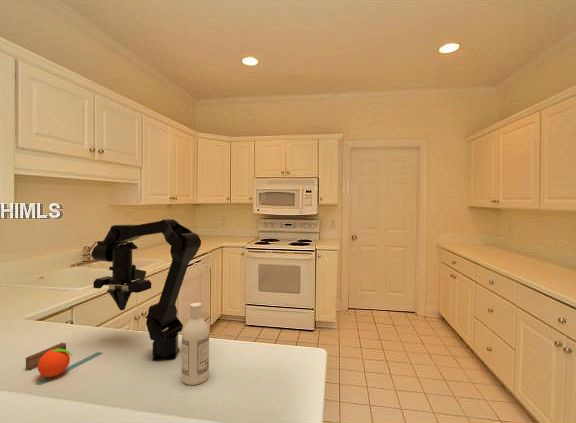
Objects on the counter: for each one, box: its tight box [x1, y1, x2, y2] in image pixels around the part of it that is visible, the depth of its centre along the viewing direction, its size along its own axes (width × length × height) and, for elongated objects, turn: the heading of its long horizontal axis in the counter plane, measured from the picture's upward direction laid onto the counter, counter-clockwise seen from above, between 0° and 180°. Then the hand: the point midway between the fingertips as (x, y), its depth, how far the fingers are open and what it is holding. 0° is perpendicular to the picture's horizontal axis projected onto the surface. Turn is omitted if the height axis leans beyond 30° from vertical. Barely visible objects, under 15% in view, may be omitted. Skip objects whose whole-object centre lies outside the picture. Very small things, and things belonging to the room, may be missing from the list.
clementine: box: [37, 348, 73, 378], centre depth 80 cm, size 8×7×7 cm
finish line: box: [34, 351, 103, 386], centre depth 85 cm, size 2×18×1 cm, turn 163°
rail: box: [25, 342, 67, 371], centre depth 88 cm, size 2×10×4 cm, turn 163°
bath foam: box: [181, 302, 210, 386], centre depth 80 cm, size 7×7×20 cm
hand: (122, 310), depth 98 cm, fingers closed
